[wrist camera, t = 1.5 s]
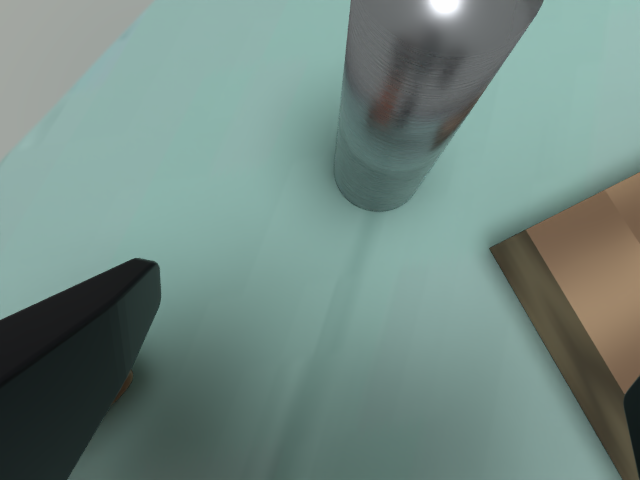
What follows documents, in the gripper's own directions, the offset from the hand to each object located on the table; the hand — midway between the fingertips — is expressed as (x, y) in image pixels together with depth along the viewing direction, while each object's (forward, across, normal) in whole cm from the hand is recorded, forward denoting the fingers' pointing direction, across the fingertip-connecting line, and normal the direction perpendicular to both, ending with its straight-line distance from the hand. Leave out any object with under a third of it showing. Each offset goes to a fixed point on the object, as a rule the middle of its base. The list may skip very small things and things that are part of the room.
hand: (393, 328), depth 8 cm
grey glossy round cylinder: (+15, 0, +4) cm, 16 cm away
